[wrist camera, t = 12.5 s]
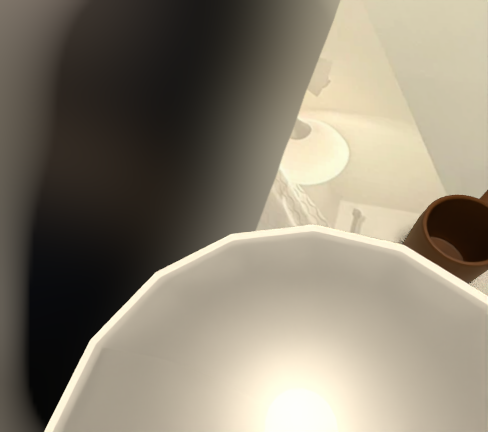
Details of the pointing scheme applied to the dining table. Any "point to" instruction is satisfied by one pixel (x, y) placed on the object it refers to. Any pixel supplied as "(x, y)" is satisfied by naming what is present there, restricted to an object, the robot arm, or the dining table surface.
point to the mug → (454, 235)
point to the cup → (288, 343)
